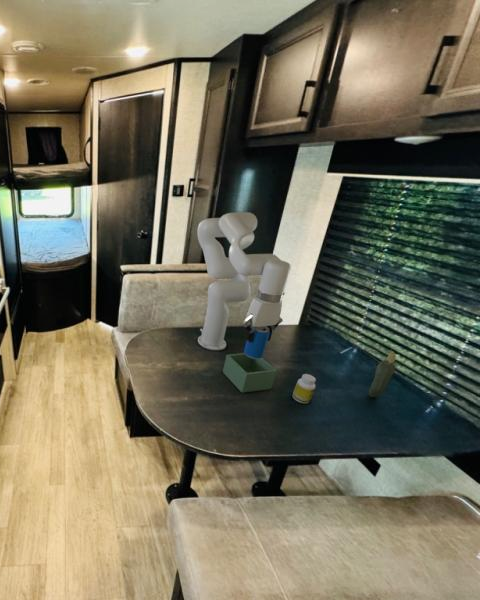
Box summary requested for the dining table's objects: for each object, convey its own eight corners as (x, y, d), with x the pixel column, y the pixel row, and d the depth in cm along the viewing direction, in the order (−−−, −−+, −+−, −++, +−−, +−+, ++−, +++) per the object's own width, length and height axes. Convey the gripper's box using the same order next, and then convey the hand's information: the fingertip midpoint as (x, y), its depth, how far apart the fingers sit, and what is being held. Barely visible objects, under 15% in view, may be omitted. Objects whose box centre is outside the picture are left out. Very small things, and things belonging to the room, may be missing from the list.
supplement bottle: (309, 406, 111) (317, 384, 107) (291, 399, 114) (299, 378, 110) (310, 397, 115) (318, 376, 111) (292, 391, 118) (300, 370, 114)
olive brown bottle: (380, 403, 113) (404, 357, 104) (365, 399, 114) (388, 354, 106) (376, 395, 116) (399, 350, 108) (361, 392, 118) (383, 347, 109)
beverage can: (260, 362, 115) (269, 334, 109) (241, 356, 118) (248, 328, 113) (264, 353, 119) (272, 326, 114) (245, 348, 123) (252, 321, 118)
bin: (222, 372, 129) (226, 354, 126) (249, 368, 131) (254, 351, 127) (241, 392, 118) (246, 374, 114) (271, 388, 120) (277, 370, 116)
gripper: (283, 289, 113) (270, 332, 120) (239, 293, 110) (229, 336, 118) (300, 298, 106) (285, 342, 114) (253, 302, 103) (242, 347, 111)
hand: (257, 339), depth 116 cm, fingers closed on beverage can, 6 cm apart
